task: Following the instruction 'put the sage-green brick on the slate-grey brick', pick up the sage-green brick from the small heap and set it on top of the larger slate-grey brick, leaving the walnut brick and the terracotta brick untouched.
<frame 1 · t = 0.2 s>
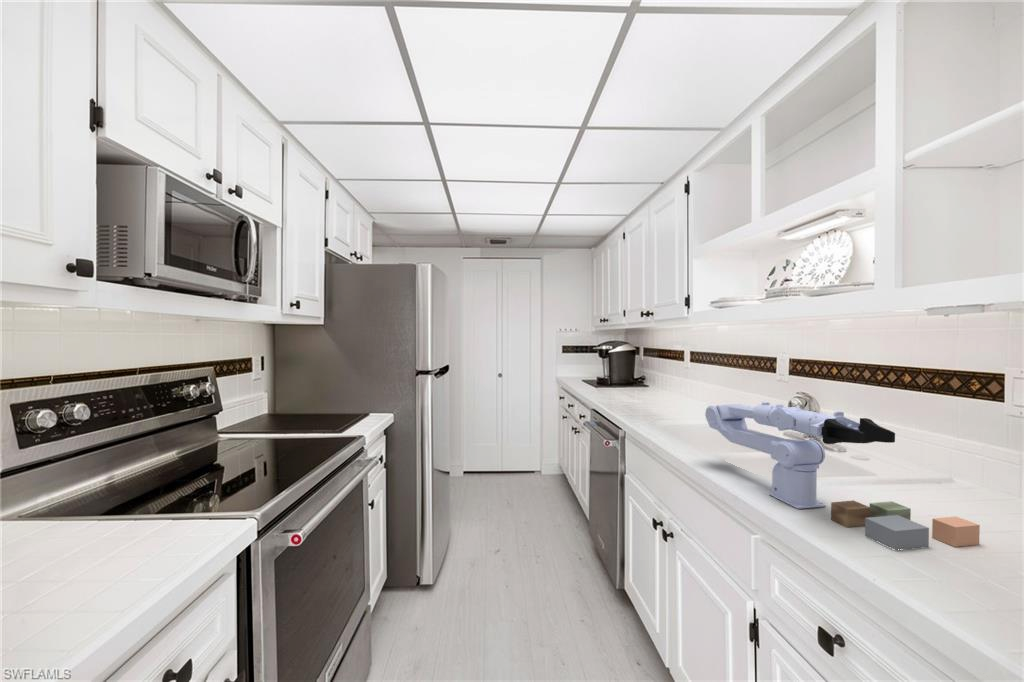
hand: (878, 437, 88), 21 cm above the worktop, tool horizontal, fingers open, 7 cm apart
terracotta brick: (955, 541, 87), on the worktop
walnut brick: (850, 522, 96), on the worktop
sage brick: (889, 523, 96), on the worktop
slate brick: (895, 541, 88), on the worktop
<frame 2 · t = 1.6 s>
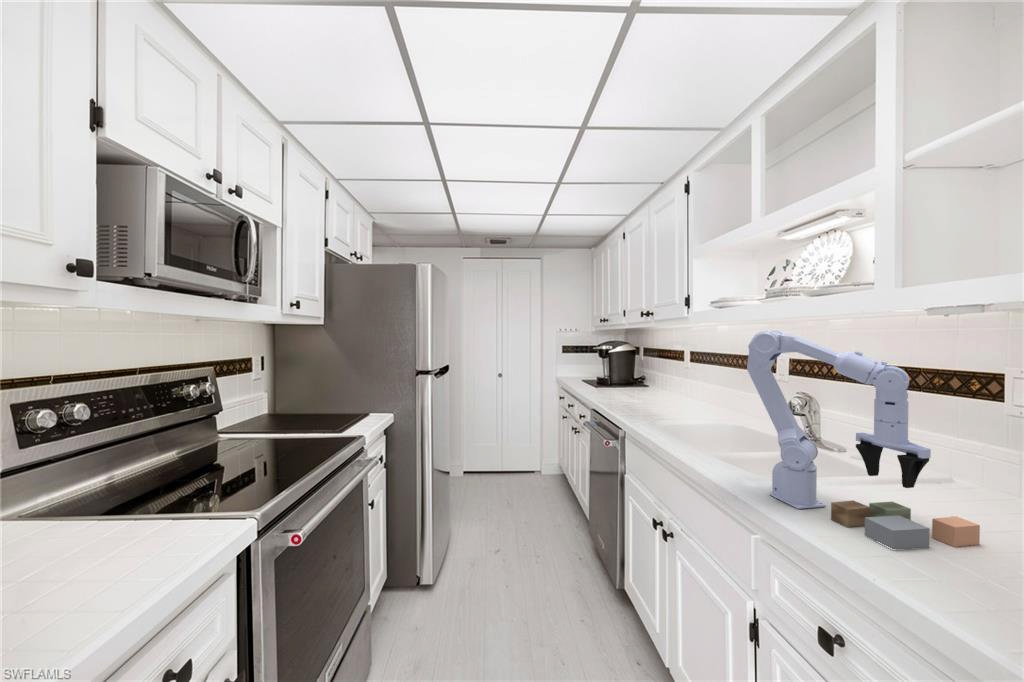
hand: (890, 481, 95), 9 cm above the worktop, tool pointing down, fingers open, 7 cm apart
nothing on the worktop moved.
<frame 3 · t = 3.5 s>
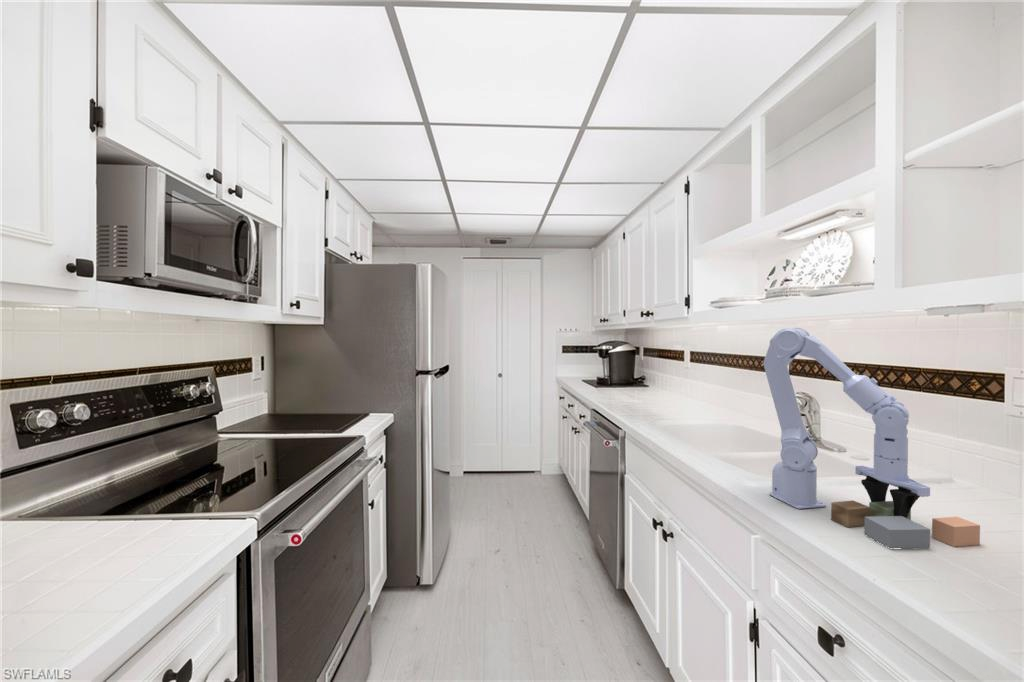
hand: (889, 516, 95), 1 cm above the worktop, tool pointing down, fingers closed on sage brick, 4 cm apart
sage brick: (889, 522, 96), on the worktop, touching gripper
everything else where it was.
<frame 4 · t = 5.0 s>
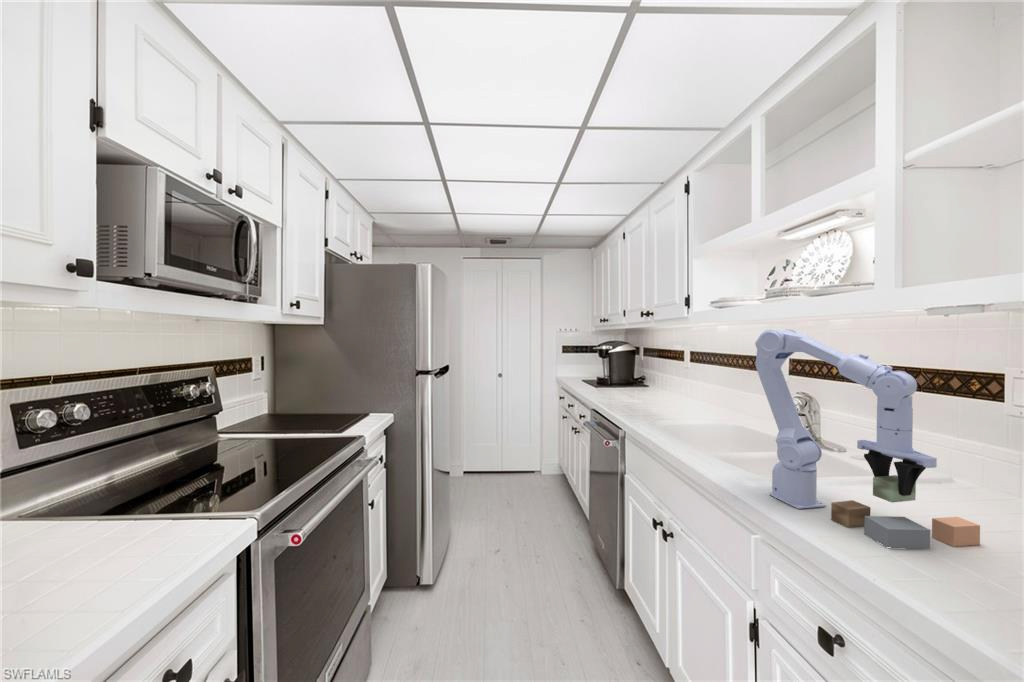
hand: (893, 490, 91), 9 cm above the worktop, tool pointing down, fingers closed on sage brick, 4 cm apart
sage brick: (893, 497, 92), point 7 cm above the worktop, touching gripper
everything else where it was.
when the fingers open (7 cm above the worktop, at t = 6.5 s): sage brick drops 2 cm, resting on slate brick.
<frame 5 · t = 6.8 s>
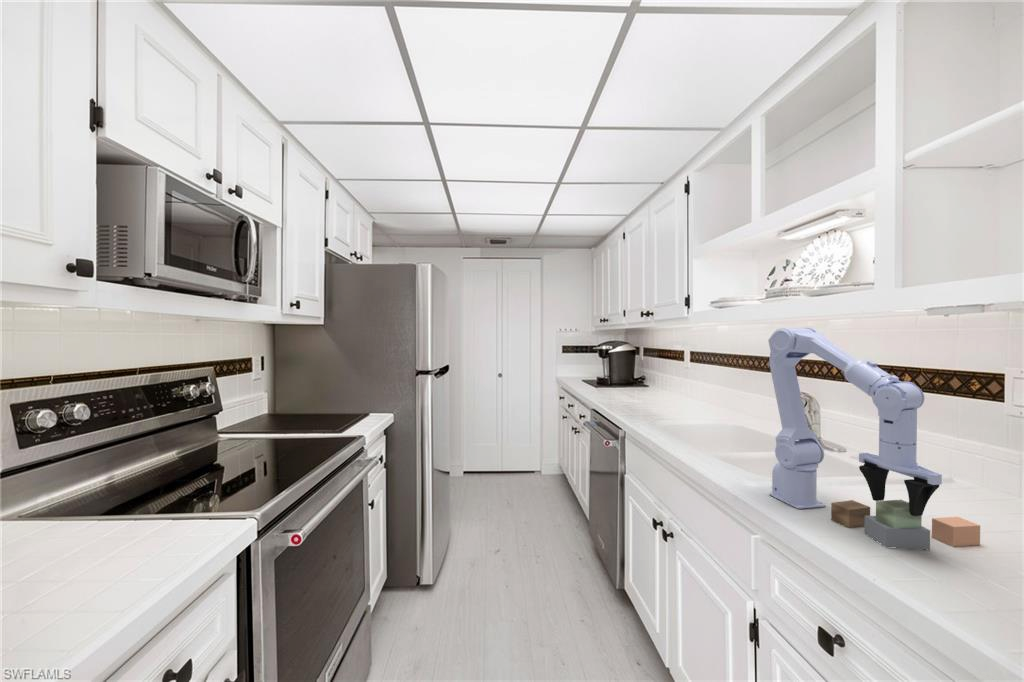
hand: (896, 507, 87), 7 cm above the worktop, tool pointing down, fingers open, 7 cm apart
sage brick: (898, 523, 87), point 4 cm above the worktop, touching slate brick
slate brick: (895, 541, 88), on the worktop, touching sage brick
everything else where it was.
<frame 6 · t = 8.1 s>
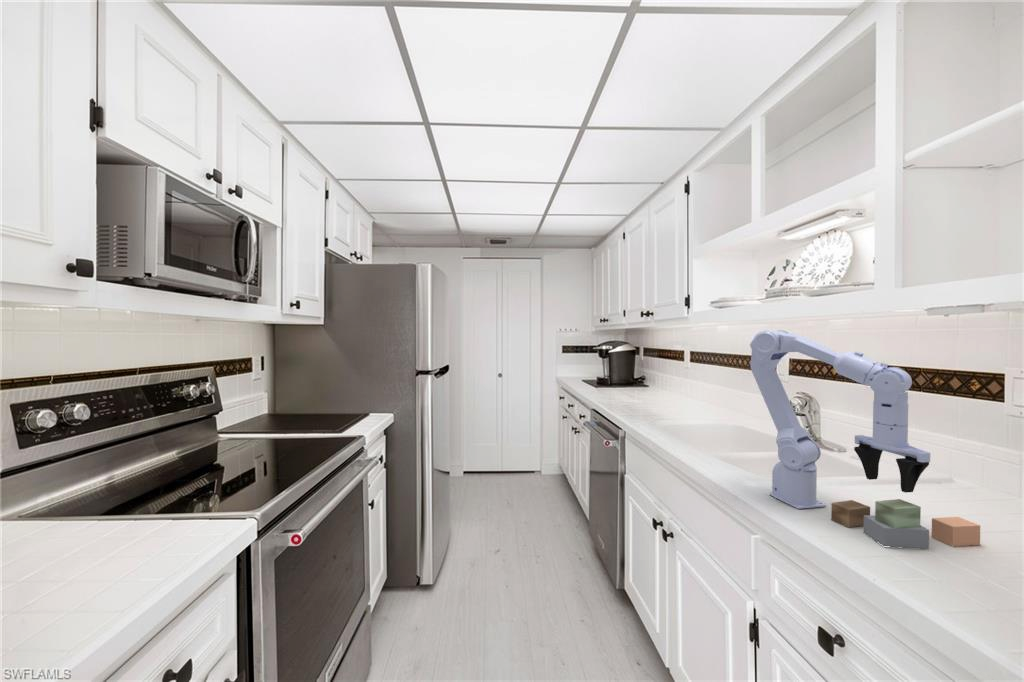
hand: (888, 485, 93), 9 cm above the worktop, tool pointing down, fingers open, 7 cm apart
nothing on the worktop moved.
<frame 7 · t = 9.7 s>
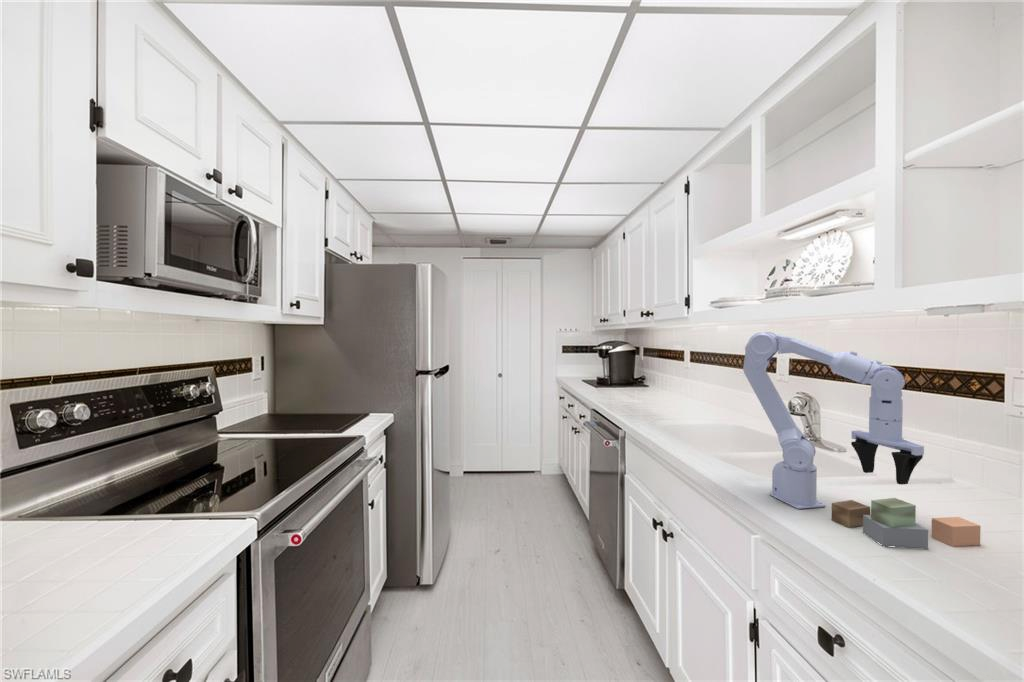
hand: (884, 477, 97), 9 cm above the worktop, tool pointing down, fingers open, 7 cm apart
nothing on the worktop moved.
at the end: sage brick 0.3 cm off-centre on the slate brick, point 4.0 cm above the slate brick's base; walnut brick moved 0.2 cm from its start; terracotta brick moved 0.2 cm from its start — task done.
